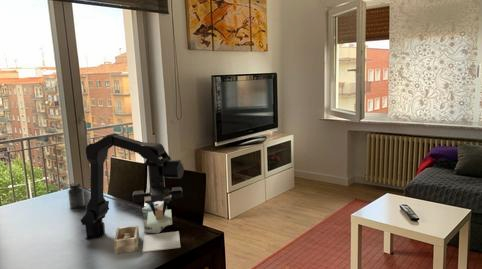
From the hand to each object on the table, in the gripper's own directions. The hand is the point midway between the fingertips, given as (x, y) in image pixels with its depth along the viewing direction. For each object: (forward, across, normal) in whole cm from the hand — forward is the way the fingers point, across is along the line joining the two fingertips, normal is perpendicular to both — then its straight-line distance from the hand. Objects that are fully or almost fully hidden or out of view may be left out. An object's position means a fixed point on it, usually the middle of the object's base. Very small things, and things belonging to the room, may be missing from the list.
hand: (159, 215), depth 143 cm
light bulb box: (+11, -2, +14) cm, 18 cm away
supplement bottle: (+11, -42, +53) cm, 68 cm away
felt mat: (+11, 0, 0) cm, 11 cm away
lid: (+3, 0, 0) cm, 3 cm away
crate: (+11, -13, +1) cm, 17 cm away
